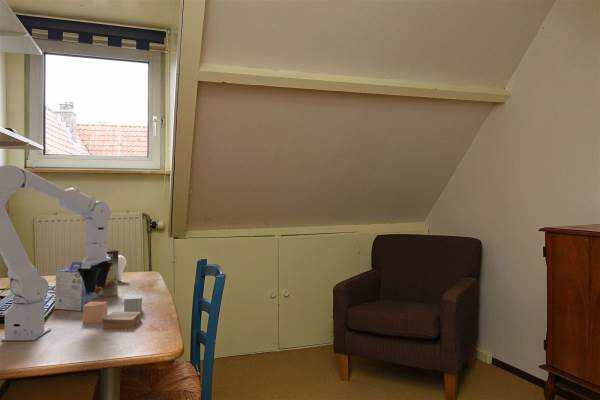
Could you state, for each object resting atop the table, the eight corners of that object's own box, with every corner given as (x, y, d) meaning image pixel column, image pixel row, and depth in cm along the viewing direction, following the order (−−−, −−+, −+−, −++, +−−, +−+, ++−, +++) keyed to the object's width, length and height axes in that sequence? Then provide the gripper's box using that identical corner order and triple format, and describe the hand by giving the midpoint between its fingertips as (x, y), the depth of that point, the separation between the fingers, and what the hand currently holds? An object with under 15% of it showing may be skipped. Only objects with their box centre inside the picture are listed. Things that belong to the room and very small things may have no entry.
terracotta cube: (100, 323, 131) (101, 306, 131) (82, 323, 131) (83, 305, 131) (107, 318, 136) (107, 301, 136) (89, 318, 136) (90, 301, 136)
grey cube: (141, 314, 141) (141, 298, 141) (124, 315, 140) (124, 299, 140) (141, 310, 146) (141, 294, 146) (124, 311, 144) (125, 295, 144)
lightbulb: (110, 280, 193) (110, 254, 193) (126, 279, 195) (126, 253, 194) (109, 283, 187) (109, 256, 187) (125, 282, 189) (126, 255, 188)
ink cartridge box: (93, 307, 149) (93, 262, 148) (81, 311, 143) (82, 265, 143) (66, 305, 150) (66, 260, 150) (54, 309, 145) (54, 263, 145)
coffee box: (93, 299, 159) (93, 252, 159) (84, 296, 163) (85, 251, 163) (118, 294, 166) (118, 250, 166) (109, 292, 170) (109, 248, 170)
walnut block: (132, 330, 126) (132, 319, 126) (102, 330, 126) (102, 319, 126) (141, 322, 134) (141, 311, 134) (112, 322, 134) (113, 311, 134)
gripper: (100, 245, 126) (100, 295, 126) (118, 240, 141) (118, 284, 141) (74, 245, 126) (73, 295, 126) (95, 239, 140) (94, 284, 140)
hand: (95, 289), depth 133 cm, fingers open, 7 cm apart
